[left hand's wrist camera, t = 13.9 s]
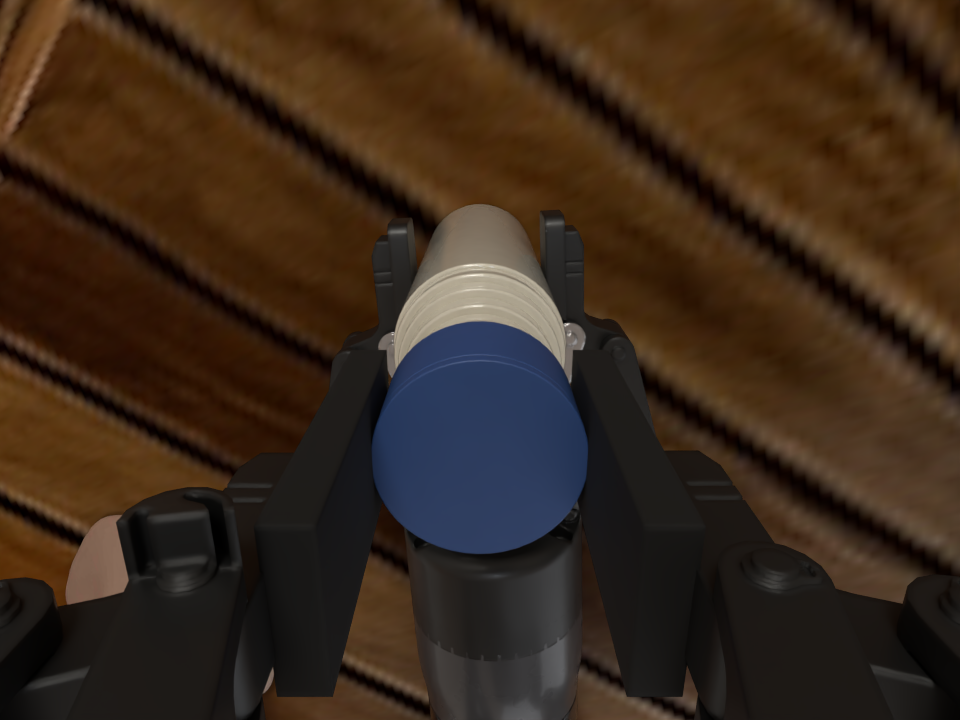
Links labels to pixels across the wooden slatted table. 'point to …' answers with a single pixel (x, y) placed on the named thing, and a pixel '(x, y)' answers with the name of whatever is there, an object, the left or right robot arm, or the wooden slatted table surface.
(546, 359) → the cap
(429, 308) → the bottle
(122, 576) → the anatomical model
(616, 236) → the wooden slatted table surface
